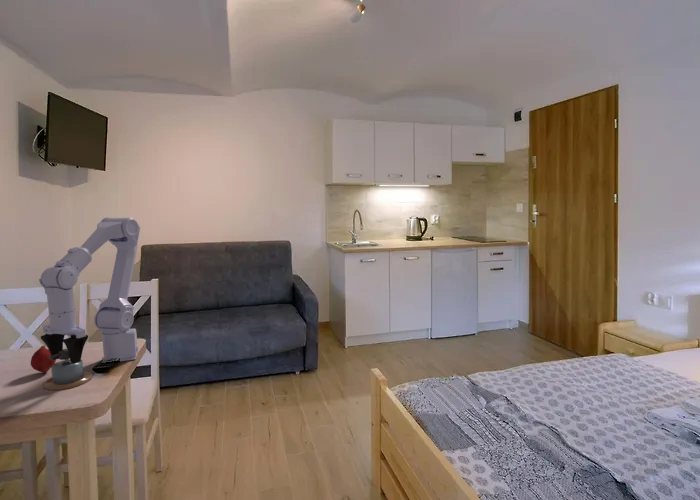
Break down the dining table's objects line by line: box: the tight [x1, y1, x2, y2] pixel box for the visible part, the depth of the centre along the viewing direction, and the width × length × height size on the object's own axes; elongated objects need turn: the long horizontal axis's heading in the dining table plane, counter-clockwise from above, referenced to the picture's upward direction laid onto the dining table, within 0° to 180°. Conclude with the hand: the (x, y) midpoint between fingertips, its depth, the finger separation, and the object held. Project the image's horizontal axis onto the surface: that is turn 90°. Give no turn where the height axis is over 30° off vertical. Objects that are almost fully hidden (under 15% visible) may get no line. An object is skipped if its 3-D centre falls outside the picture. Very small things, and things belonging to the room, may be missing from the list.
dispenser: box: [43, 359, 93, 391], centre depth 114 cm, size 11×11×6 cm
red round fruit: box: [30, 345, 57, 374], centre depth 120 cm, size 6×6×8 cm
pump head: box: [49, 348, 70, 362], centre depth 112 cm, size 5×5×3 cm
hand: (66, 360), depth 113 cm, fingers open, 7 cm apart
